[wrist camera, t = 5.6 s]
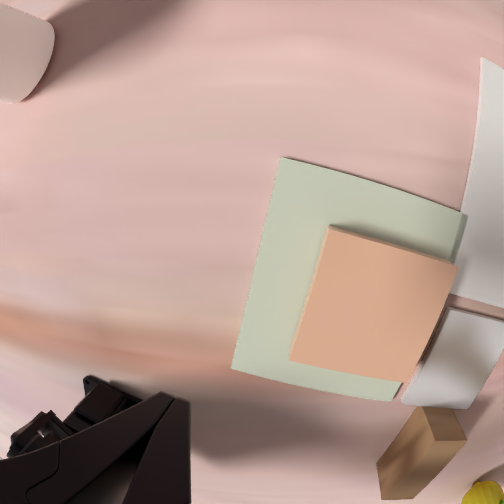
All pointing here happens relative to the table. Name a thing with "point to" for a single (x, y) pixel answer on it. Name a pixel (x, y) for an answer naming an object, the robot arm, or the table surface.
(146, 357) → the table surface
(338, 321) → the tile
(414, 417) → the turner
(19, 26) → the grey cylinder
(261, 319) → the felt mat
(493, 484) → the lemon
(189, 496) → the robot arm
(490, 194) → the tool pad
